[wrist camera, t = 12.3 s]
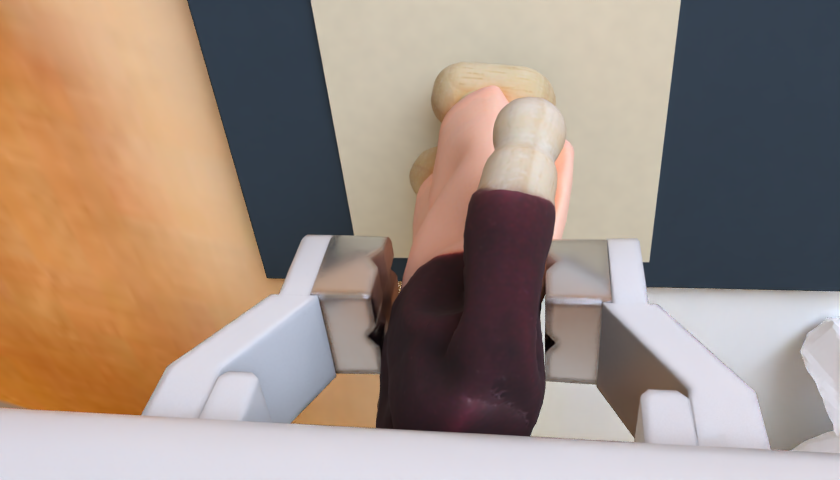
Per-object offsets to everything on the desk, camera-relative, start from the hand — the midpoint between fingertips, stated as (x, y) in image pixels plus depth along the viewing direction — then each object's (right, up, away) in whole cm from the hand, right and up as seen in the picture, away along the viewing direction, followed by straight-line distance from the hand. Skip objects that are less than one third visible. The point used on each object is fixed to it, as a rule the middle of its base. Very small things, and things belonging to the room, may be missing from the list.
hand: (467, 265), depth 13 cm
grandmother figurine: (+1, +3, +4) cm, 5 cm away
